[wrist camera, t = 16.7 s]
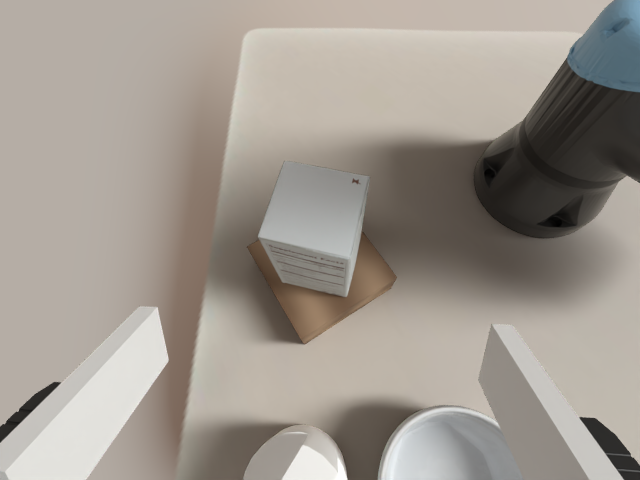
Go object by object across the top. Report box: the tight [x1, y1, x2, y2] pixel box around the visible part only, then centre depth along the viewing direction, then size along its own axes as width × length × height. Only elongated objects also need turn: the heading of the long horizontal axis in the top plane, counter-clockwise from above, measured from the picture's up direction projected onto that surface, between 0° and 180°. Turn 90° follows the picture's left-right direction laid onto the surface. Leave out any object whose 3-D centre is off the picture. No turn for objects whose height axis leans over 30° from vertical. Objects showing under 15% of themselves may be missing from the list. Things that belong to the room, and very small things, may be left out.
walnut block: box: [247, 231, 397, 344], centre depth 40 cm, size 12×12×5 cm
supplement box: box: [258, 161, 370, 297], centre depth 32 cm, size 7×7×13 cm
